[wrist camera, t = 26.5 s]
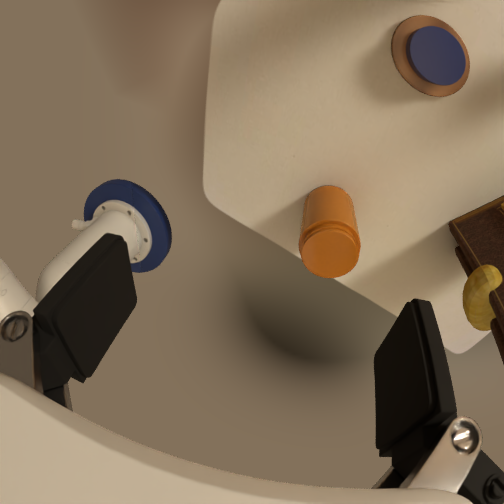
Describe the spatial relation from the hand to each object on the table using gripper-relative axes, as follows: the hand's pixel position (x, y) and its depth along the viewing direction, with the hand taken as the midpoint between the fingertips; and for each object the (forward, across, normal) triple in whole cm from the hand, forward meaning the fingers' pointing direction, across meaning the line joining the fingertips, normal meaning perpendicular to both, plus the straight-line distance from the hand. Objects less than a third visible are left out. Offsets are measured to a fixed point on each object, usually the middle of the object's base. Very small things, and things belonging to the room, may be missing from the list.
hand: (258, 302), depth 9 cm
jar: (+28, -5, +10) cm, 30 cm away
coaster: (+28, -13, -13) cm, 34 cm away
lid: (+26, -13, -13) cm, 32 cm away
